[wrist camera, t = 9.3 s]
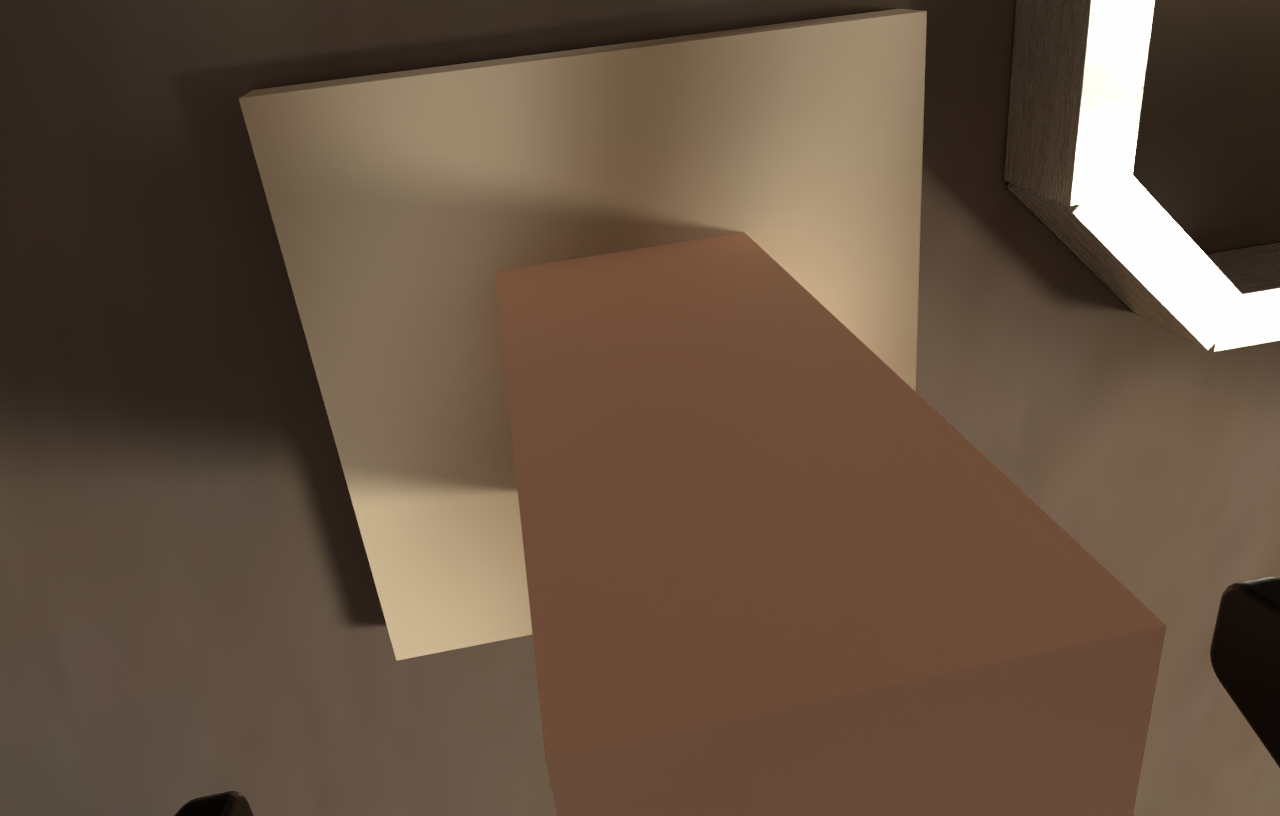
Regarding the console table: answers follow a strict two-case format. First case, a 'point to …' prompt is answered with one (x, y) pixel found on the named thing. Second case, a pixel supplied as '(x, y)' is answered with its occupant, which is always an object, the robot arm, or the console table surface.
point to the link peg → (791, 566)
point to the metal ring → (1119, 176)
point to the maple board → (563, 248)
